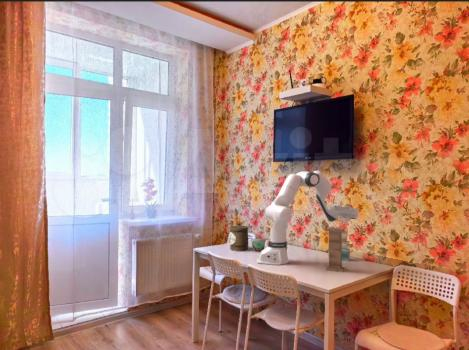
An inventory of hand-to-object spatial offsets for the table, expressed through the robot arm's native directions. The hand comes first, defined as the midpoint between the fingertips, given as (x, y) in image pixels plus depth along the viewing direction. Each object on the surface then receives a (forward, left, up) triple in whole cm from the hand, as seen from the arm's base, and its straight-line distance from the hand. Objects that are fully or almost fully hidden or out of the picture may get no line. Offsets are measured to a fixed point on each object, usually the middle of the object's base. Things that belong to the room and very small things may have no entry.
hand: (341, 207), depth 229 cm
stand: (-8, -21, -38) cm, 44 cm away
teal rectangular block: (+3, +9, -28) cm, 29 cm away
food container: (-59, +24, -38) cm, 74 cm away
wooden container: (-76, +30, -38) cm, 90 cm away
